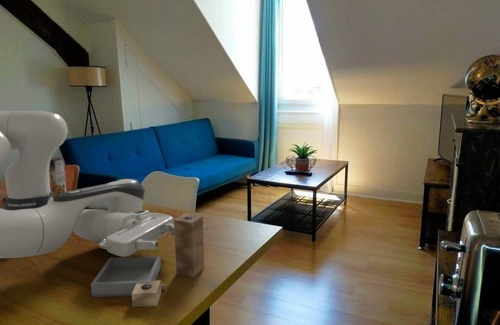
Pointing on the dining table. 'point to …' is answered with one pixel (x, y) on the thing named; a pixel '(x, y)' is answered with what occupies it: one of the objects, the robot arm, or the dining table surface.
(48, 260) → the dining table surface
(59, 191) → the stuffed squirrel
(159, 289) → the block
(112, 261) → the tray
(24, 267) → the dining table surface
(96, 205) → the cereal bowl
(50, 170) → the coffee box
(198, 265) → the block
